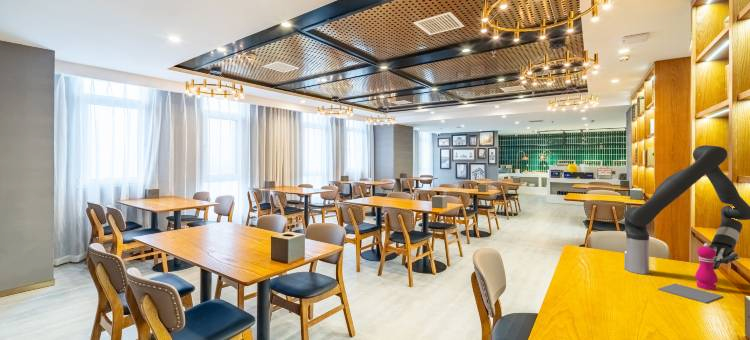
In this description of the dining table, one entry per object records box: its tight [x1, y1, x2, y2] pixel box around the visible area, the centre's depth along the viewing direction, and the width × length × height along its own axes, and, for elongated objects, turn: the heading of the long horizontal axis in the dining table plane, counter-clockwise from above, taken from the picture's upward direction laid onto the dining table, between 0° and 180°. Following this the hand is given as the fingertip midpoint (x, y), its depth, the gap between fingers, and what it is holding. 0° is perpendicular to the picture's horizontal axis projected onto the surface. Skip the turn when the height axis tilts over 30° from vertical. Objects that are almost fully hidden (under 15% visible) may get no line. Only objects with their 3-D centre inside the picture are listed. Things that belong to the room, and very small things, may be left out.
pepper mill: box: [694, 242, 719, 291], centre depth 147 cm, size 7×7×20 cm
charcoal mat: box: [658, 283, 724, 304], centre depth 141 cm, size 16×14×1 cm
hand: (713, 268), depth 150 cm, fingers closed
